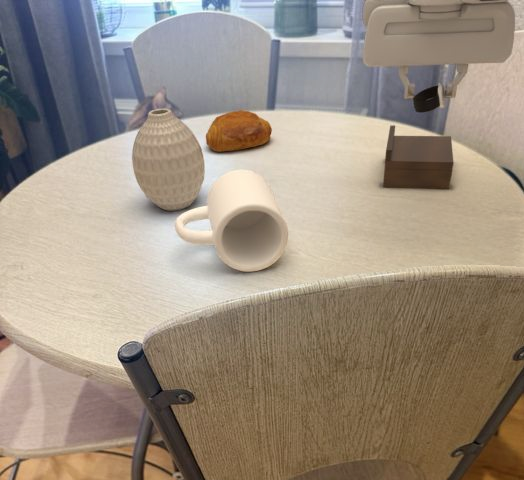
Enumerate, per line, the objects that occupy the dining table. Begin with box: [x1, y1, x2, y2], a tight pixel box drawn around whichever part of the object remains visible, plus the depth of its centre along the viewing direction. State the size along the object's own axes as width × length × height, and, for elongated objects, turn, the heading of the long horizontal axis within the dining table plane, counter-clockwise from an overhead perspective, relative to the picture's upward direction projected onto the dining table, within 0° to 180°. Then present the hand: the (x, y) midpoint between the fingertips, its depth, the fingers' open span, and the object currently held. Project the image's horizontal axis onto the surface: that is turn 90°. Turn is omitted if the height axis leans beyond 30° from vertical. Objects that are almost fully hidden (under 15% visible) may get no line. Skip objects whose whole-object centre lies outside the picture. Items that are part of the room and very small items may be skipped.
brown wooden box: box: [382, 124, 454, 190], centre depth 103 cm, size 12×14×7 cm
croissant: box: [205, 109, 273, 153], centre depth 124 cm, size 14×16×8 cm
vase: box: [131, 108, 206, 212], centre depth 96 cm, size 13×13×17 cm
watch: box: [412, 82, 446, 114], centre depth 79 cm, size 8×5×4 cm, turn 158°
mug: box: [174, 169, 289, 273], centre depth 82 cm, size 16×14×11 cm
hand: (429, 97), depth 79 cm, fingers closed on watch, 4 cm apart
